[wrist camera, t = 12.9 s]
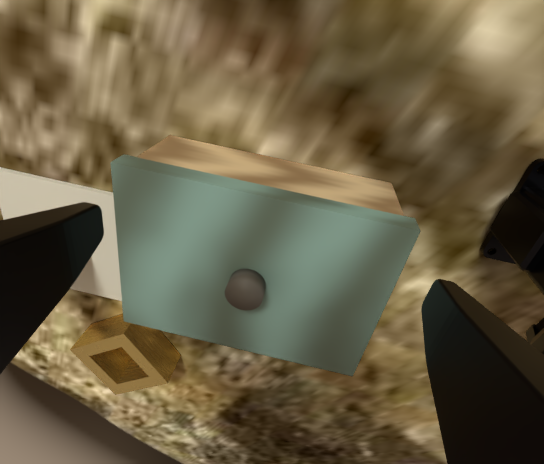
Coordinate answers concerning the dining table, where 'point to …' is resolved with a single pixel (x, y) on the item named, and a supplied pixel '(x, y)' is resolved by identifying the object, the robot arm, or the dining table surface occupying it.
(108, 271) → the grey mat
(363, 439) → the dining table surface
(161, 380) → the frame
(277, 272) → the drawer
